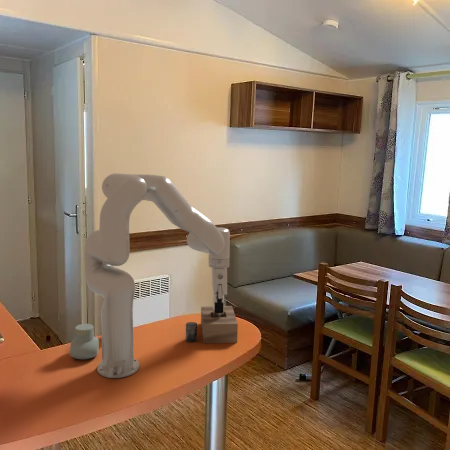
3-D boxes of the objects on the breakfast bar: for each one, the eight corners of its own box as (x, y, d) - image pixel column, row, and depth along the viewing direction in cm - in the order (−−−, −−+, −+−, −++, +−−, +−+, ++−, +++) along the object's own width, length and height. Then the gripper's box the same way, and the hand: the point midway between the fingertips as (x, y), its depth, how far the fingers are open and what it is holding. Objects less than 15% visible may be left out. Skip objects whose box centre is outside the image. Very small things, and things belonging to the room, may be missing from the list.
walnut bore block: (237, 342, 166) (237, 323, 165) (203, 343, 165) (203, 324, 164) (231, 323, 183) (232, 305, 182) (201, 323, 182) (201, 306, 181)
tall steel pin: (224, 325, 172) (224, 294, 170) (213, 326, 171) (213, 294, 169) (223, 321, 176) (223, 290, 174) (212, 321, 175) (212, 291, 173)
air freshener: (74, 349, 159) (73, 321, 157) (99, 347, 160) (98, 320, 159) (69, 364, 148) (68, 334, 147) (96, 362, 150) (95, 332, 148)
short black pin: (197, 342, 166) (197, 326, 164) (186, 342, 165) (185, 326, 164) (197, 337, 169) (197, 321, 168) (185, 338, 169) (185, 322, 168)
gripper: (231, 268, 162) (231, 318, 165) (227, 256, 178) (226, 302, 181) (210, 268, 161) (209, 319, 164) (207, 256, 177) (207, 303, 180)
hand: (218, 310), depth 173 cm, fingers closed on tall steel pin, 3 cm apart
